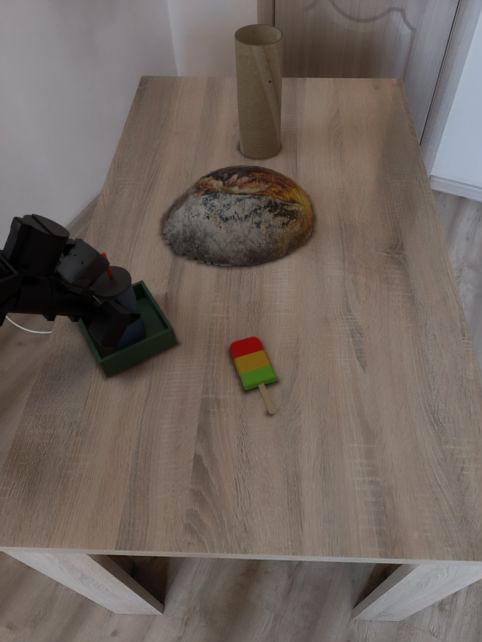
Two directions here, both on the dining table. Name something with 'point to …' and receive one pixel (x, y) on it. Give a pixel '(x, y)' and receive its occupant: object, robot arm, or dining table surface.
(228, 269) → the dining table surface
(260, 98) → the tube
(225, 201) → the bread
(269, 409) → the popsicle
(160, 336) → the bin
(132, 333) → the cup with straw
